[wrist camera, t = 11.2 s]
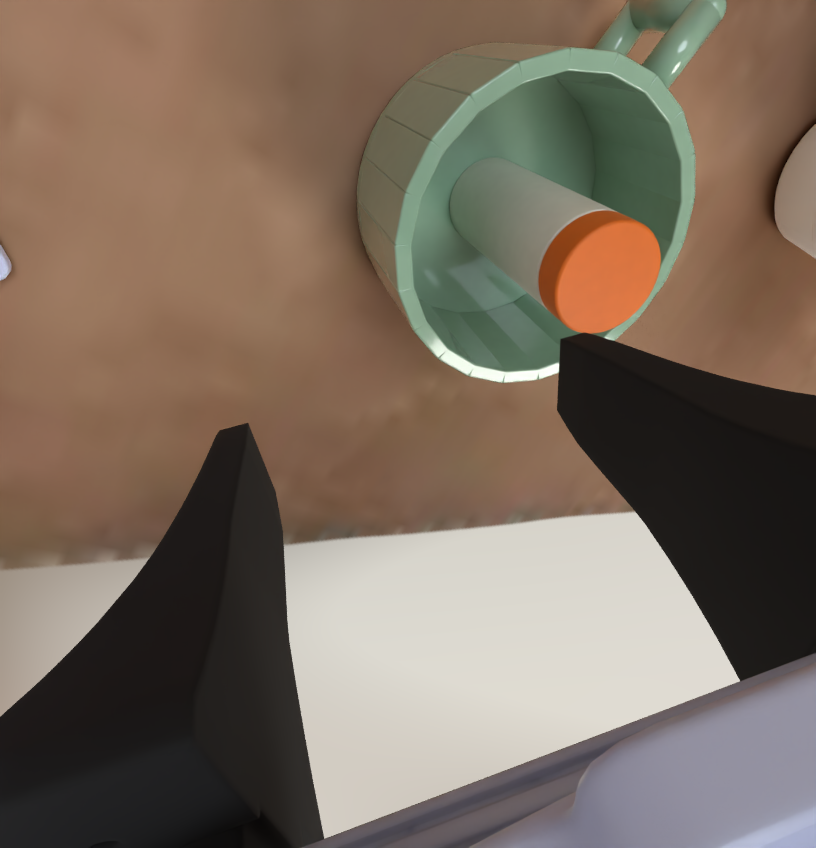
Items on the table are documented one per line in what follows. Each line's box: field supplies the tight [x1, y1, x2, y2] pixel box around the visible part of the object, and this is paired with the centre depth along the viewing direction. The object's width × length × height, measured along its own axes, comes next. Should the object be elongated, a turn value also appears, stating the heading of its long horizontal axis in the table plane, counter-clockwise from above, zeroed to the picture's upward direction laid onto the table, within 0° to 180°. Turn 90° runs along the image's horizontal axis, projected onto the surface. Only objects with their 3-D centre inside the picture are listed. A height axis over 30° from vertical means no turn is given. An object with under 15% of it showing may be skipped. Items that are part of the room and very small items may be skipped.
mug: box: [357, 0, 727, 383], centre depth 18 cm, size 12×10×6 cm
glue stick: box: [450, 158, 661, 334], centre depth 17 cm, size 3×3×8 cm
